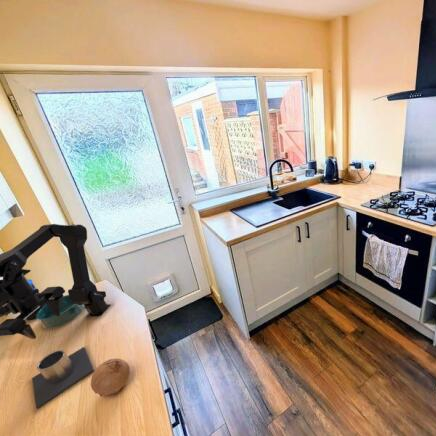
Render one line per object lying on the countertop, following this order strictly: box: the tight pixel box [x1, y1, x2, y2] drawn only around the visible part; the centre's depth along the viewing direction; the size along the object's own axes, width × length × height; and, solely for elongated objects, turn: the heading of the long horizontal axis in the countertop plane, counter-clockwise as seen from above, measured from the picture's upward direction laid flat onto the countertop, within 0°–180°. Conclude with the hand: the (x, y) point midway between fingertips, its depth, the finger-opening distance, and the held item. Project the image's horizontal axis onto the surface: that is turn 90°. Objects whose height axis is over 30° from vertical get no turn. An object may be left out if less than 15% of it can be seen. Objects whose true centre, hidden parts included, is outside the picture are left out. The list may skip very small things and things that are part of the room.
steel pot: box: [36, 349, 75, 384], centre depth 78 cm, size 7×7×7 cm
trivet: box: [31, 346, 95, 410], centre depth 80 cm, size 14×14×1 cm
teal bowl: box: [36, 294, 85, 329], centre depth 105 cm, size 14×14×6 cm
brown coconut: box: [90, 357, 131, 397], centre depth 73 cm, size 10×9×10 cm
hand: (46, 326), depth 85 cm, fingers open, 9 cm apart
